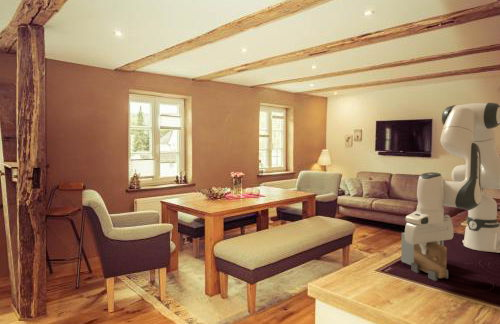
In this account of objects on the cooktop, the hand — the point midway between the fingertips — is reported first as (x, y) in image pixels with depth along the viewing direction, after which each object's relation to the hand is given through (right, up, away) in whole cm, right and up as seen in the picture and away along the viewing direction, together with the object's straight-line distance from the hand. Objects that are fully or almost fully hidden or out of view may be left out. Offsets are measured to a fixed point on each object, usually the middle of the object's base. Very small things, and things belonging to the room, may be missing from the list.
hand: (429, 253), depth 128 cm
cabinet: (+4, -7, +13) cm, 16 cm away
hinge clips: (0, -8, 0) cm, 8 cm away
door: (0, -7, 0) cm, 7 cm away
